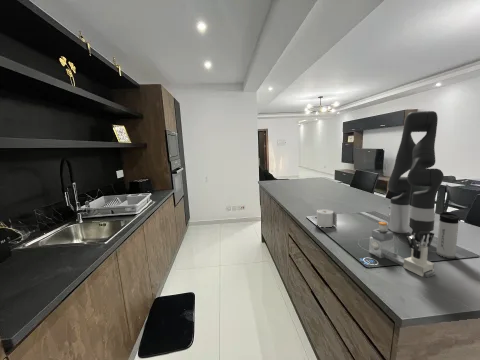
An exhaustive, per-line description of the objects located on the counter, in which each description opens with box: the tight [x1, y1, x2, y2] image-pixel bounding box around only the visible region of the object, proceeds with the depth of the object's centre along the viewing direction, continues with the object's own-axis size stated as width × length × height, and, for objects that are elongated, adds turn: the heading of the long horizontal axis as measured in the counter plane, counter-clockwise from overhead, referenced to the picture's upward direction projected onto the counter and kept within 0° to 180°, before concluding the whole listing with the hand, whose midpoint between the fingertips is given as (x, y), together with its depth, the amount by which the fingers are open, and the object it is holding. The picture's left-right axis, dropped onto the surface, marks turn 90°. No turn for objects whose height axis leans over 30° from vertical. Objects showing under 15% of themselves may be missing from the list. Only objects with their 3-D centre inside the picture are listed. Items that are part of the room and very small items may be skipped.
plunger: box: [378, 221, 388, 233], centre depth 100 cm, size 3×3×5 cm
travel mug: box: [436, 211, 460, 259], centre depth 96 cm, size 6×7×20 cm
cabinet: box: [368, 228, 396, 259], centre depth 101 cm, size 6×9×12 cm, turn 109°
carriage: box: [402, 245, 435, 278], centre depth 86 cm, size 7×7×11 cm
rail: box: [383, 252, 436, 278], centre depth 91 cm, size 18×4×2 cm, turn 19°
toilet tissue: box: [316, 208, 338, 228], centre depth 140 cm, size 11×12×10 cm
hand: (418, 256), depth 86 cm, fingers closed on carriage, 2 cm apart
